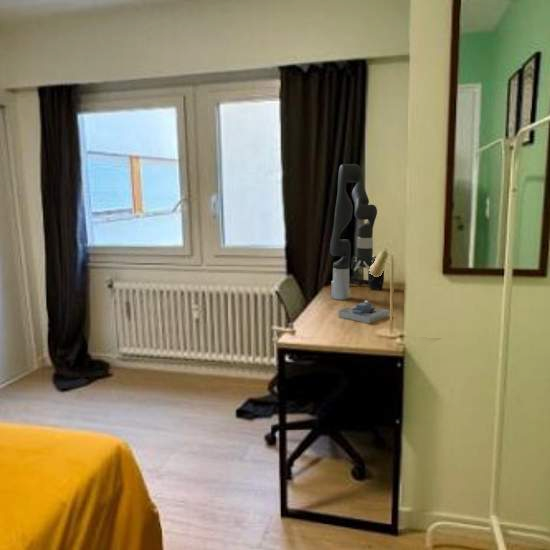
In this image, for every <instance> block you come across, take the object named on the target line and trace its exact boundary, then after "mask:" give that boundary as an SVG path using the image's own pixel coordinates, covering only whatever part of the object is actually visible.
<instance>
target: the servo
mask: <svg viewBox="0 0 550 550" xmlns="http://www.w3.org/2000/svg"><path fill="white" fill-rule="evenodd" d="M375 308H376V307H375V306H372V302H369V300H364V301H363V302H360V303H357V304H356V310H354V311H353V313H357V314H361V313H370V314H372V312H371V310H373V309H375Z"/></svg>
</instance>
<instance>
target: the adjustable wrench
mask: <svg viewBox="0 0 550 550" xmlns="http://www.w3.org/2000/svg"><path fill="white" fill-rule="evenodd" d="M349 284H350V285H353V284H354V285H358V286H361V287H362V286H363V285H366V286H369V282H368V279H362V278H357V279H356V278H355V276H350V275H349Z"/></svg>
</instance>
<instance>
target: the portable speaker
mask: <svg viewBox="0 0 550 550" xmlns="http://www.w3.org/2000/svg"><path fill="white" fill-rule="evenodd" d="M375 258H376V256H372V260H375ZM371 264H372V263H371ZM369 267H370V266H369ZM367 271H368V270H367ZM367 280H368V282H369V285H368V287H369V289H370V290H371V291H377V290H383V287H384V281H385V270H384V271H383V273H382V275H381V276H379V277H374V280H373V281H370V274H369V271H368V272H367Z"/></svg>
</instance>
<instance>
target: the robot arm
mask: <svg viewBox="0 0 550 550" xmlns="http://www.w3.org/2000/svg"><path fill="white" fill-rule="evenodd" d="M346 183H356V184H355V186H354V187H353V188H352V191H351V197H352V200H353V203H352V200H351V198H350V196H349V195H348V192H347V190H346ZM364 184H365V183H364V177H363V172H362V168H361V166H360V164H356V163H342V164H341V165H340V166H339V169H338V177H337V195H336V201H335V202H336V203H335V210H334V221H333V229H332V233H331V238H330V243H329V244H330V245H329V253H330V255H331V256H333V257H341V258H340V259H338V260H337V261H334V262H333V264H332V280H331V285H330V288H331V296H330V297H331V298H333V299H334V300H340V301H341V300H348V299H350V283H349V276H350V269H351V270H353V272H354V274H353V275H354V278H356V279H357V278H358V279H360V278H359V277H360V270H359V269H361V268H364V269H366V270H367V271H368V270H369V269H370V267H369V266H371V265H372V264H373V263H374V261H375V260H372V257H374V256H373V254H374V253H373V250H374V249H373V248H374V239H373V238H374V236H373V232H374V231H373V230H374V224H375V222H376V219H377V215H378V209H377V206H376V205H375V204H369V203H370V199H369V197H368V194H367V190H366V189H365V185H364ZM353 204H354V205H353ZM353 209H354V210H353ZM353 211H354V217H355V218H356V219H357V220H359V221H362V220H363V221H364V220H367V221H366V223H363V224H359V225H358V227H357V240H356V256H352V257H351V253H352V246H351V245H352V244H351V241H350V239H346V238H345V239H343V238H342V239H340V238H341V235H342V234H343V231H344V230H345V228H347V226H348V225H349V223H351V221H352V218H353ZM371 263H372V264H371ZM369 272H370V271H369ZM373 280H374V276H373V275H371V274H370V281H373Z"/></svg>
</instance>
